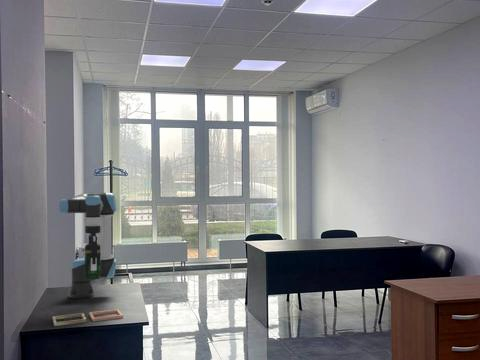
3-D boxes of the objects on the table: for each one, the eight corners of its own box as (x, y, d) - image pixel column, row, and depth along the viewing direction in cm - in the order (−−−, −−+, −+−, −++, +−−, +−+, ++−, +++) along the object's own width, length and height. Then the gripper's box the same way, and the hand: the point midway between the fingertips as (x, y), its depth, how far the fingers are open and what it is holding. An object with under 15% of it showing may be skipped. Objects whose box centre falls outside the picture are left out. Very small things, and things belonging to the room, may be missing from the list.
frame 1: (52, 319, 236) (52, 316, 236) (83, 315, 242) (83, 313, 242) (54, 326, 224) (54, 322, 224) (86, 322, 230) (86, 319, 230)
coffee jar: (100, 280, 235) (100, 243, 235) (84, 280, 232) (84, 244, 233) (100, 276, 244) (100, 241, 244) (84, 277, 242) (84, 241, 242)
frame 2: (89, 315, 243) (89, 312, 243) (118, 312, 250) (118, 309, 250) (92, 321, 232) (92, 318, 232) (122, 318, 238) (122, 315, 238)
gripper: (83, 224, 247) (83, 266, 247) (87, 227, 227) (87, 272, 227) (97, 223, 250) (97, 265, 250) (103, 226, 230) (102, 271, 230)
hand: (92, 268), depth 238 cm, fingers closed on coffee jar, 9 cm apart
